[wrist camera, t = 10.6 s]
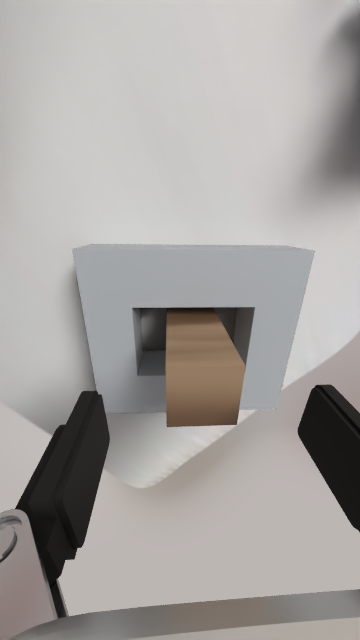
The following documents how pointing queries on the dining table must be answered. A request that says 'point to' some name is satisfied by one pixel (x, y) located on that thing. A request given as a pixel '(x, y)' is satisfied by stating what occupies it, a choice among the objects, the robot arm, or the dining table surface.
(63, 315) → the dining table surface
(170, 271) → the well block
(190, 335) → the wood grain block
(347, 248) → the dining table surface
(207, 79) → the dining table surface
